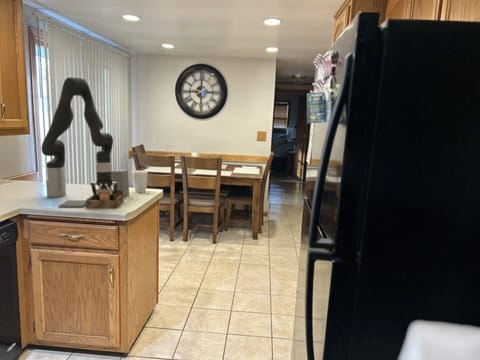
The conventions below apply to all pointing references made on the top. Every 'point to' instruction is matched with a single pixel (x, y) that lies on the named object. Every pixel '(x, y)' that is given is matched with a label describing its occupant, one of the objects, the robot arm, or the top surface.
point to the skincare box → (121, 180)
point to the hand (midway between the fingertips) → (105, 200)
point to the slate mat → (73, 204)
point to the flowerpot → (104, 194)
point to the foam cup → (140, 180)
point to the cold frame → (105, 201)
